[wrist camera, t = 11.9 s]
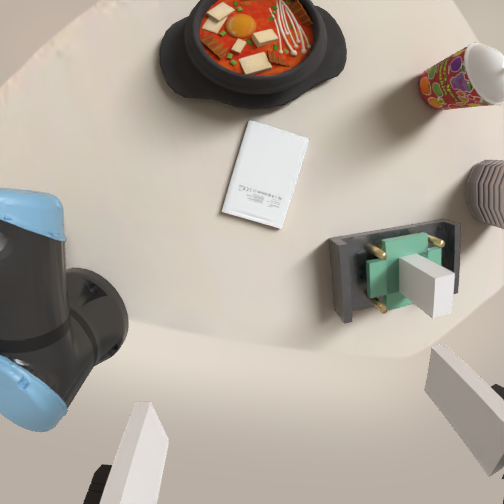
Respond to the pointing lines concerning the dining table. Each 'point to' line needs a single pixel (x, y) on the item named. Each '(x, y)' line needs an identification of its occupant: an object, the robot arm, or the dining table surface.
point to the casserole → (252, 51)
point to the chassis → (370, 247)
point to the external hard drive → (265, 174)
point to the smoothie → (465, 79)
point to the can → (487, 192)
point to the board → (390, 267)
